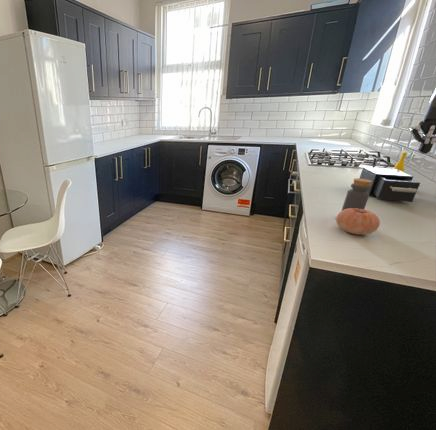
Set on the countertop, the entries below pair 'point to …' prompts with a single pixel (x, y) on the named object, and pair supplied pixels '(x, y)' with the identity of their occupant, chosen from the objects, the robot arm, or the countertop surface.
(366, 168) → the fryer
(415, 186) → the drawer
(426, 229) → the countertop surface
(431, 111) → the robot arm
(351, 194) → the bottle
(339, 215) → the orange pumpkin
